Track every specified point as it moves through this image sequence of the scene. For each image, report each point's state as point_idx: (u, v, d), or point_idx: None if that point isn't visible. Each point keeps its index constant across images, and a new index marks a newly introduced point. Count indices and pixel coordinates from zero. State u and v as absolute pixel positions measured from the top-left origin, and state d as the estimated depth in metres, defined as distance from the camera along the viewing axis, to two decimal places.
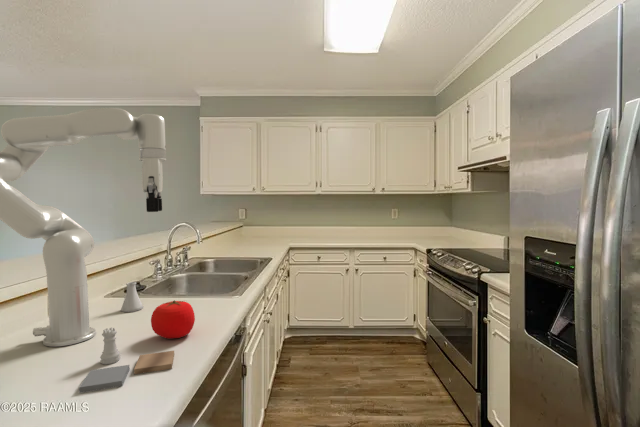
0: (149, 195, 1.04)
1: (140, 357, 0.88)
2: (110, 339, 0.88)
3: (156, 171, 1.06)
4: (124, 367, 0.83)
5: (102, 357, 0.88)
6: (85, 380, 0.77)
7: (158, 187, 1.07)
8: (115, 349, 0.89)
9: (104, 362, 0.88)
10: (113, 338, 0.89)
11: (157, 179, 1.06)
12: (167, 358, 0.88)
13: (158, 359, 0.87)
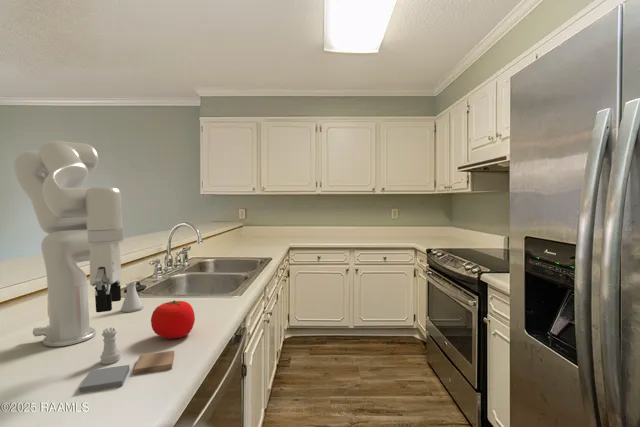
0: (98, 292, 0.82)
1: (140, 357, 0.88)
2: (110, 339, 0.88)
3: (108, 260, 0.85)
4: (124, 367, 0.83)
5: (102, 357, 0.88)
6: (85, 380, 0.77)
7: (111, 280, 0.85)
8: (115, 349, 0.89)
9: (104, 362, 0.88)
10: (113, 338, 0.89)
11: (109, 270, 0.84)
12: (167, 358, 0.88)
13: (158, 359, 0.87)
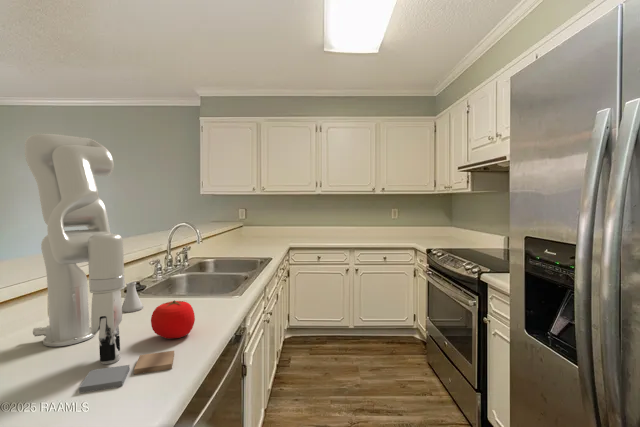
0: (102, 344, 0.85)
1: (140, 357, 0.88)
2: None
3: (110, 309, 0.85)
4: (124, 367, 0.83)
5: None
6: (85, 380, 0.77)
7: (112, 328, 0.85)
8: (115, 349, 0.89)
9: (104, 362, 0.88)
10: (113, 338, 0.89)
11: (111, 319, 0.85)
12: (167, 358, 0.88)
13: (158, 359, 0.87)
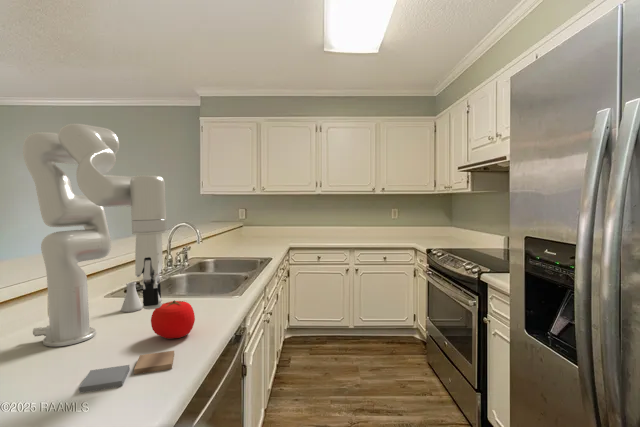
0: (146, 286, 0.82)
1: (140, 357, 0.88)
2: None
3: (154, 251, 0.82)
4: (124, 367, 0.83)
5: None
6: (85, 380, 0.77)
7: (156, 271, 0.83)
8: None
9: (147, 307, 0.85)
10: None
11: (155, 261, 0.82)
12: (167, 358, 0.88)
13: (158, 359, 0.87)
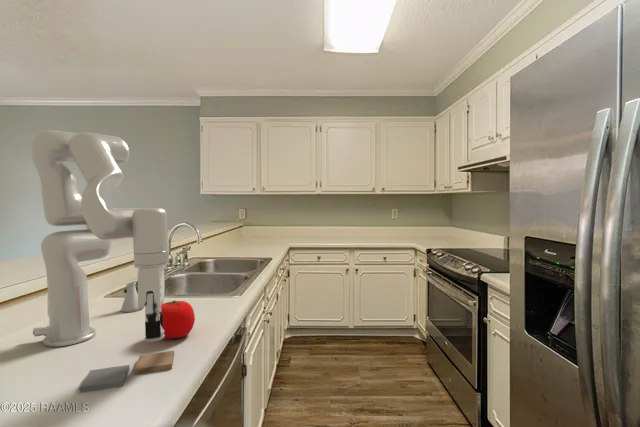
0: (149, 320, 0.83)
1: (140, 357, 0.88)
2: None
3: (156, 284, 0.83)
4: (124, 367, 0.83)
5: None
6: (85, 380, 0.77)
7: (159, 304, 0.83)
8: (160, 326, 0.87)
9: (149, 339, 0.85)
10: None
11: (157, 294, 0.82)
12: (167, 358, 0.88)
13: (158, 359, 0.87)
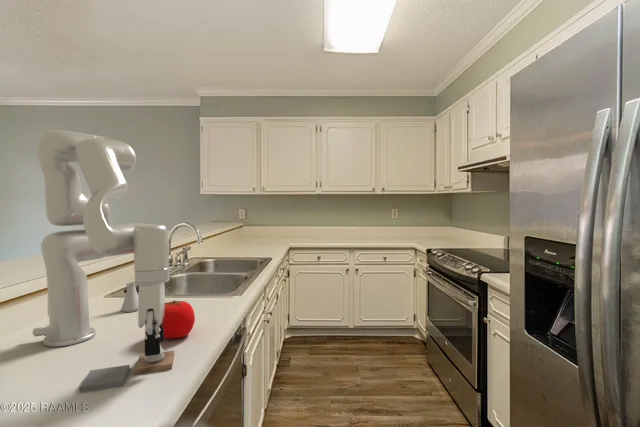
0: (148, 337, 0.82)
1: (140, 357, 0.88)
2: None
3: (157, 301, 0.83)
4: (124, 367, 0.83)
5: None
6: (85, 380, 0.77)
7: (159, 321, 0.83)
8: None
9: (149, 360, 0.85)
10: None
11: (158, 311, 0.83)
12: (167, 358, 0.88)
13: None
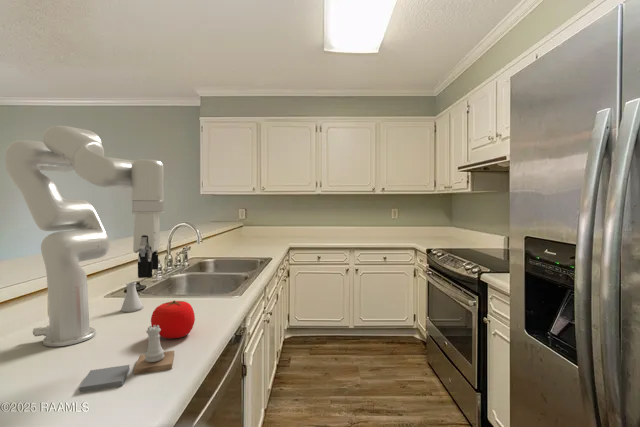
0: (141, 259, 0.87)
1: (140, 357, 0.88)
2: (155, 337, 0.86)
3: (151, 229, 0.89)
4: (124, 367, 0.83)
5: (147, 355, 0.85)
6: (85, 380, 0.77)
7: (153, 248, 0.89)
8: (159, 347, 0.87)
9: (149, 360, 0.85)
10: (158, 336, 0.87)
11: (152, 239, 0.89)
12: (167, 358, 0.88)
13: None
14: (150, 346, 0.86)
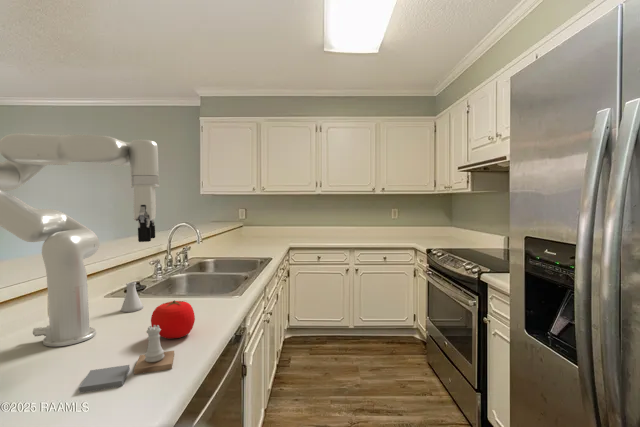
0: (141, 225, 1.00)
1: (140, 357, 0.88)
2: (155, 337, 0.86)
3: (148, 200, 1.02)
4: (124, 367, 0.83)
5: (147, 355, 0.85)
6: (85, 380, 0.77)
7: (150, 216, 1.03)
8: (159, 347, 0.87)
9: (149, 360, 0.85)
10: (158, 336, 0.87)
11: (149, 208, 1.02)
12: (167, 358, 0.88)
13: None
14: (150, 346, 0.86)
